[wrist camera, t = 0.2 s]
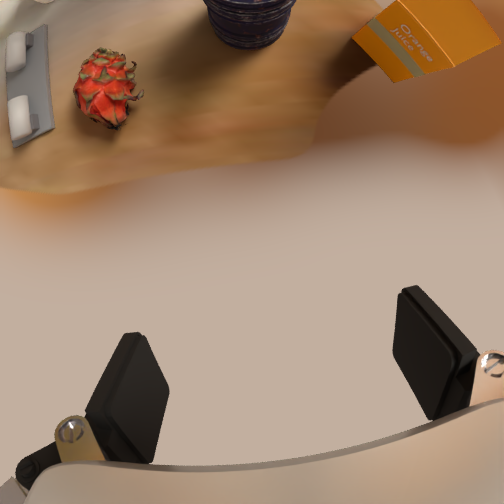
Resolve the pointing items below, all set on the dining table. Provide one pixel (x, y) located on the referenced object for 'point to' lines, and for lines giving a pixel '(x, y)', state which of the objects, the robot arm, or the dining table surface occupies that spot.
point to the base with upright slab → (44, 1)
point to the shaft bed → (28, 85)
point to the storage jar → (249, 21)
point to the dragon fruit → (105, 87)
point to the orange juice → (425, 36)
